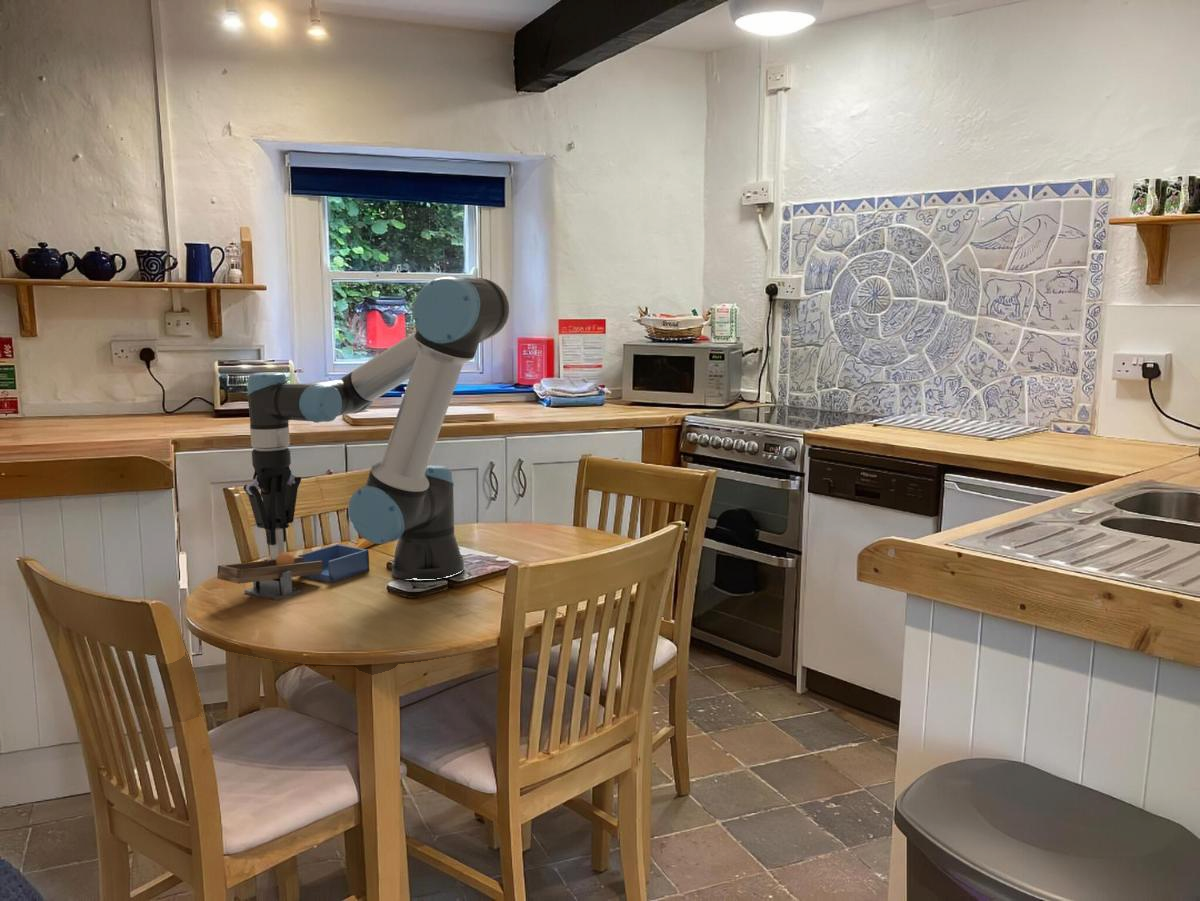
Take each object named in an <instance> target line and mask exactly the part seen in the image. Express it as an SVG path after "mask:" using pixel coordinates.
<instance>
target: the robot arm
mask: <svg viewBox="0 0 1200 901" xmlns="http://www.w3.org/2000/svg"><path fill="white" fill-rule="evenodd" d="M416 294H417V295H416V296H415V299H414V301H413V306H412V319H413V320H414V326H415V328H416V331H414V332H413V333H411V334H410V335H408V336H405V338H402V339H401V340H400V341H398V342H397V343H396V344H393V345H392V346H389V347H388V348H387V349H386V350H383V351H382V352H381V353H379V354H377V355H375V356H374V357H373V358H371V359H370V360H368V361H367V362H365V363H364V364H363V363H362V364H361V365H360V366H358V367H357V368H355V369H353V370H352V371H351V372H349V373H347V374H346V375H344V376H342V377H341V378H339V379H332V380H325V381H319V382H311V383H289V382H288V381H287V377H286V374H285V373H283V372H279V371H275V372H274V371H271V372H266V371H265V372H255V373H251V374H250V375H249V376H248V377H247V393H246V396H247V402H248V412H249V421H250V422H249V430H250V431H249V432H250V446H251V448H254V449H252V451H251V461H252V462H251V463H252V467H253V470H254V474H253V477H252V481H251V482H250V483H249V484H244V486H243V491H244V492H245V493H246V495H247V496H248V500H249V502H250V503H249V504H250V507H251V510H252V513H253V517H254V520H255V523H256V527H257V528H259V529H264V530H265V532H266V533H265V535H266V543H267V545H269V557H270V558H269V559H274V560H276V558H277V556H278V555H279V554H280V553H282V552H285V543H286V541H287V532H286V529H288V528H289V527H290V524H292V523H293V522H294V519H295V512H296V502H297V496H298V495H297V494H298V490H299V486H300V484H301V481H302V478H301V476H296V475H294V474H292V470H291V469H290V465H291V464H292V461H291V460H292V459H291V449H290V448H289V447H288V446H290V444H291V440H290V427H289V424H290V423H289V421H299V422H313V423H324V422H325V423H326V422H327V423H328V422H333V421H335V420H336V418H337V417H339V416H344V415H352V414H353V415H354V414H358V413H361V412H363V411H366V410H367V409H369V408H370V407H371V406H372V405H373V402H374V401H375V400H377V399H378V398H380V397H382V396H383V395H385V394H387V393H388V392H390V391H391V390H393V389H395V388H397V387H399V386H400V385H402V384H403V383H405V382H407V381H408V382H407V384H406V388H405V391H404V394H403V396H402V400H401V403H400V406H399V410H398V412H397V415H396V418H395V421H394V424H393V427H392V430H391V433H390V436H389V439H388V442H387V445H386V447H385V448H386V449H385V450H384V454H383V457H382V460H381V461H379V462H375V463H374V464H372V466H371V468H370V471H369V474H368V477H367V480H366V483H365V485H364V486H362V487H360V488H358V489H356V490H355V492H354V493H353V494H352V496H351V497H350V499H349V501H348V510H347V512H348V517H349V521H350V522H351V524H353V528H354V530H355V531H356V532H357V534H359V535H360V536H361V537H362V538H363V539H366V540H368V541H370V542H372V543H376V544H377V545H378V544H387V543H391V542H395V541H397V544H396V548H395V552H394V558H393V559H392V562H391V575H392V577H394V578H396V579H399V580H402V579H412V578H417V579H437V578H442V577H446V576H450V575H453V574H456V573H458V572H460V571H462V570H463V568H464V569H465V566H464V564H465V561H464V557H463V555H462V554H461V552H460V548H459V544H458V542H457V538H456V535H455V513H454V512H455V510H454V509H455V508H454V507H455V506H454V502H455V501H454V481H453V472H452V470H451V468H449V467H447V466H444V465H436V464H435V465H433V464H432V465H431V464H430V465H429V463H430V460H431V457H432V454H433V453H434V452H433V451H434V450H435V449H434V448H435V446H436V443H437V441H438V437H439V434H440V432H441V428H442V427H443V423H444V420H445V417H446V414H447V412H448V409H449V405H450V403H451V400H452V397H453V395H454V391H455V389H456V386H457V382H458V379H459V377H460V374H461V371H462V368H463V365H464V364H465V363H468V362H470V361H471V360H474V358H475V355H476V352H477V351H478V347H479V345H480V343H482V342H484V341H486V340H487V339H490V338H493V336H495V335H497V334H498V333H499V332H501V331H502V330H503V328H504V327H505V326H506V324H507V321H508V319H509V315H510V304H509V300H508V296H507V294H506V293H505V291H504V290H503V289H502V288H501V287H500V286H499V284H497V283H495V282H494V281H492V280H490V279H488V278H484V277H459V276H456V275H455V276H453V275H452V276H451V275H450V276H444V277H439V278H435V279H432V280H431V281H429V282H428V283H425V285H423V287H422V288H420V290H419V292H418V293H416Z"/></svg>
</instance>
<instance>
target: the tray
mask: <svg viewBox="0 0 1200 901" xmlns="http://www.w3.org/2000/svg"><path fill="white" fill-rule="evenodd" d="M355 547H356V546H355ZM355 547H354V546H350V545H343V544H340V543H339V544H338V543H337V544H332V545H330V546H326V547H323V548H319V549H318V548H317V549H315V550H312V551H309V552H308V551H307V552H305V553H302V554H298V557H304V563H305V562H314V561H323V565H322V573H320V574H312V575H304V576H302V577H303V578H308V579H313V580H317V581H322V582H326V583H330V584H331V583H334V582H338V581H342V580H343V579H347V578H350V577H354V576H356V575H359V574H362V573H365V572H368V571H370V557H369V554H370V552H369V549H367V548H365V549H361V548H355Z"/></svg>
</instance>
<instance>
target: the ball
mask: <svg viewBox="0 0 1200 901" xmlns="http://www.w3.org/2000/svg"><path fill="white" fill-rule="evenodd" d="M294 558H295V557H294V555H293V554H292V553H290V552H288V551H284V552H282V553H280V554H279V555H278V556H277V558H276V564H277V565H286V564H294Z"/></svg>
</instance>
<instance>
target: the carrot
mask: <svg viewBox="0 0 1200 901" xmlns="http://www.w3.org/2000/svg"><path fill="white" fill-rule="evenodd" d="M376 544H377V543H372V542H370V541H368V540H366V539H364V538H363V539H361V541H360V542H359V543H358V544H357V545H356V546H355V548H361V549H367V548H369V547H372V546H374V545H376Z"/></svg>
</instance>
